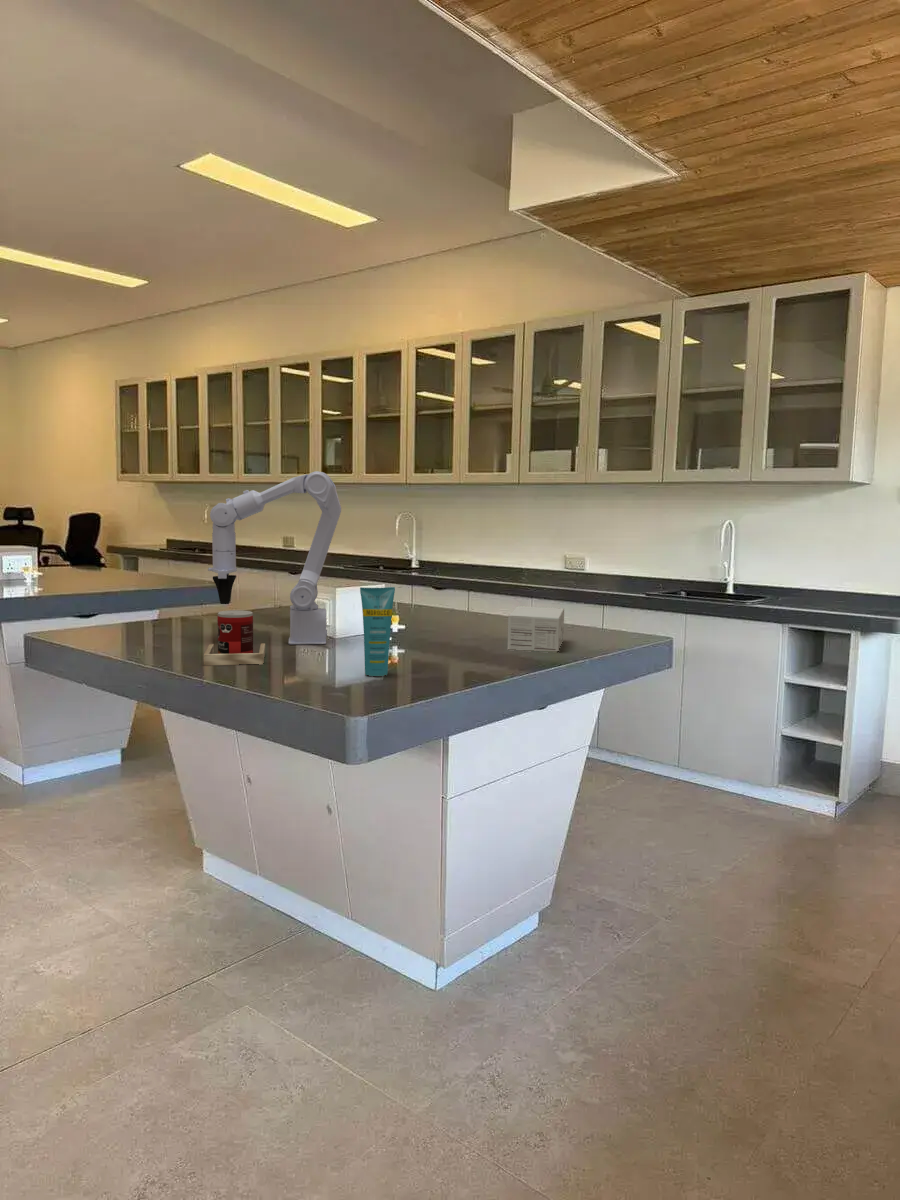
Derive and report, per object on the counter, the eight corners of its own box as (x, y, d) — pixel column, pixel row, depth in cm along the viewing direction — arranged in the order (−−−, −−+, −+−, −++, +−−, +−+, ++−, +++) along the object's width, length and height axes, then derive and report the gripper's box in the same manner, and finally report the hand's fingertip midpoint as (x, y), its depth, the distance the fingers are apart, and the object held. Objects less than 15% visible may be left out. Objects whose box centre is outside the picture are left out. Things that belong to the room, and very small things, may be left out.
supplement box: (515, 639, 232) (516, 605, 231) (563, 642, 230) (564, 607, 228) (506, 650, 216) (507, 614, 215) (558, 653, 213) (559, 617, 212)
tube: (361, 677, 181) (362, 588, 179) (357, 673, 186) (358, 585, 183) (395, 676, 183) (396, 588, 181) (391, 671, 188) (392, 585, 185)
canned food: (216, 656, 200) (216, 610, 199) (251, 655, 203) (250, 609, 201) (219, 663, 193) (218, 615, 192) (255, 661, 196) (254, 614, 194)
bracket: (265, 653, 205) (265, 643, 205) (263, 664, 193) (263, 654, 192) (209, 654, 203) (209, 644, 203) (204, 665, 190) (203, 654, 190)
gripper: (210, 548, 222) (211, 600, 224) (204, 552, 208) (205, 607, 210) (238, 548, 224) (239, 599, 225) (234, 553, 209) (235, 607, 211)
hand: (224, 603), depth 218 cm, fingers closed
